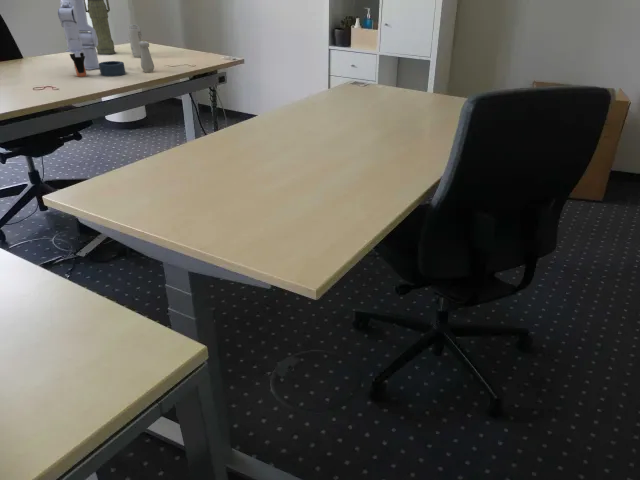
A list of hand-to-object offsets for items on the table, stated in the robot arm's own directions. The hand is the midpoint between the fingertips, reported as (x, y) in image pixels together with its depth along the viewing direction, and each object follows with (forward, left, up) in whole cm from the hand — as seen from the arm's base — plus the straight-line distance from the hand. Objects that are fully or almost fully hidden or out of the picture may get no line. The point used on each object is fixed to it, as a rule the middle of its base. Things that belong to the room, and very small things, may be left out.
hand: (80, 71), depth 236 cm
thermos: (-39, +44, -2) cm, 59 cm away
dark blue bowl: (+7, +11, -2) cm, 13 cm away
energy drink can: (-19, +48, -2) cm, 52 cm away
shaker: (0, 0, -2) cm, 2 cm away
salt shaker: (+15, +24, -2) cm, 28 cm away
